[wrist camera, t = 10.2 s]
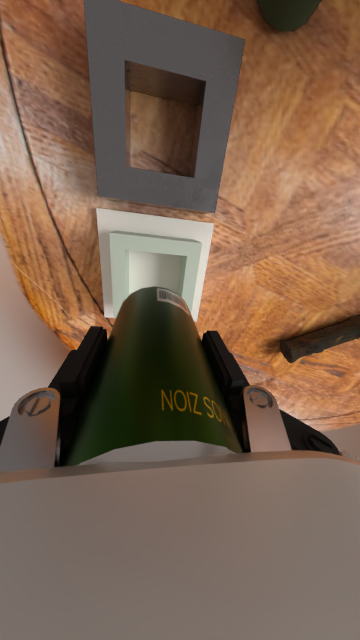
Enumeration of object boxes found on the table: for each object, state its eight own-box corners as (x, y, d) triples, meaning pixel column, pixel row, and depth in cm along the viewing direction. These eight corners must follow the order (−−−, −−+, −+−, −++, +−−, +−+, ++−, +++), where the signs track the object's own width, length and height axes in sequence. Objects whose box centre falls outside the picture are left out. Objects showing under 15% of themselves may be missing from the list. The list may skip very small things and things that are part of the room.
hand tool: (277, 353, 37) (293, 369, 33) (277, 337, 35) (293, 353, 31) (372, 324, 37) (399, 337, 33) (376, 306, 35) (406, 317, 31)
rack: (98, 208, 22) (84, 205, 18) (212, 223, 25) (224, 224, 20) (106, 314, 29) (97, 331, 24) (195, 318, 31) (202, 335, 27)
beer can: (128, 273, 13) (23, 502, 2) (199, 295, 14) (321, 500, 4) (113, 336, 15) (22, 600, 5) (175, 350, 17) (213, 576, 6)
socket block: (98, 38, 16) (83, -11, 13) (228, 73, 18) (245, 39, 15) (106, 199, 22) (97, 196, 19) (206, 213, 24) (214, 212, 20)
